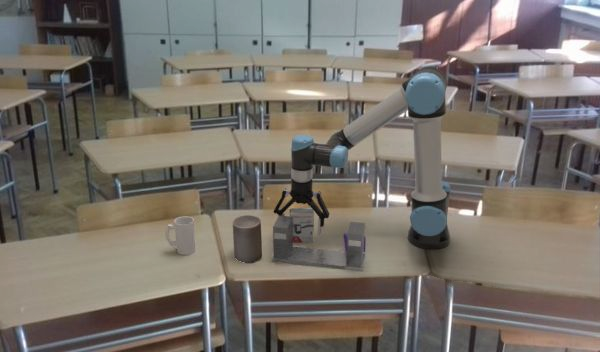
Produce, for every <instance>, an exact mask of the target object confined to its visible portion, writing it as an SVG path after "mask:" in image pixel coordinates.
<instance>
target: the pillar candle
mask: <svg viewBox="0 0 600 352" xmlns="http://www.w3.org/2000/svg"><path fill="white" fill-rule="evenodd" d="M231 222H232V223H231V224H232V234H233V235H232V237H233V252H234V259H235V258H236V259H237V260H238V261H237V260H236V259H235V260H236V261H237V262H239V261H241V262H240V263H242V262H245V263H244V264H253V263H256V262H258V261H260V260H261V259H262V257H263V249H262V248H263V247H262V246H263V243H262V242H263V241H262V240H263V239H262V222H261V219H260V218H259V217H258V216H255V215H241V216H237V217H236V218H234V219H233V220H232V221H231Z"/></svg>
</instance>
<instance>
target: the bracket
mask: <svg viewBox="0 0 600 352" xmlns="http://www.w3.org/2000/svg"><path fill="white" fill-rule="evenodd" d="M347 233H348V232H345V233H343V240H344V249H345V250H344V251H345V252H347ZM366 239H367V238H366V235H365V234H364V253H366V241H367V240H366Z"/></svg>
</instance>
